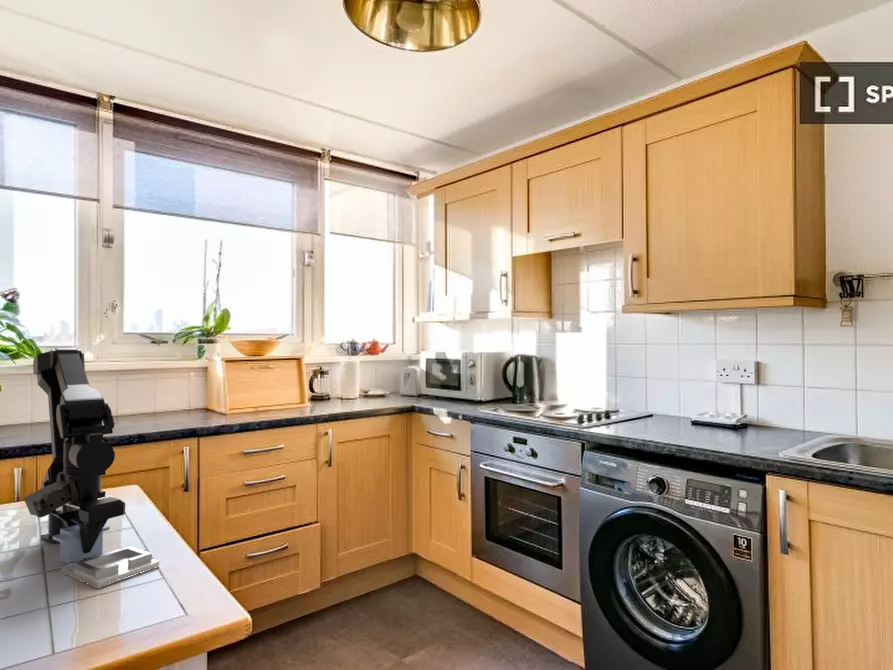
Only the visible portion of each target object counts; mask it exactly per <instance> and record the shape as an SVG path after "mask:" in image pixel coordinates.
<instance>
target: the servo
mask: <svg viewBox="0 0 893 670" xmlns="http://www.w3.org/2000/svg"><path fill="white" fill-rule="evenodd" d="M109 530H110V526H109V525H107V524H105V525H104V527H103V529H102V530H101V532H100V534H99V536H98V538H97V540H96V542H95V544H94V546H93V548H92V550H91V551H90V552H88V553H83V549H82V544H81V536H80V529H79V526H78V525H74V526H70V527H66V528H62V529H60V534H59V535H55V536H53V540H56V541H58V542H60V543H59V560H61V561H62V562H64V561H65V562H64V563H67V562H68V563H67V564H71V563H70V562H73V563H75V562H74V561H76V562H78V561H77V560H79V561H82V560H85V559H84V558H86V559H88V557H89V558H91V557H95V556H98V555H101V554H104V551H103V546H104V545H103V544H104V543H103V542H104V541H103V540H104V539H103V537H104V535H103V534H104V532H106V531H109ZM81 559H82V560H81Z"/></svg>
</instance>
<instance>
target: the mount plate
mask: <svg viewBox="0 0 893 670" xmlns="http://www.w3.org/2000/svg"><path fill="white" fill-rule="evenodd" d="M158 566H159V567H160V561H159V560H156V559H153V553H152V552H149V551H146V550H143V549H141V548H138V547H134V546H132V545H129V546H128V545H127V546H125V547H121V548H118V549H114V550H112V551H111V550H110V551H107V552H105V553H104V552H103V553H102V554H99V555H95V556H92V557H89V558H86V559H82V560H79V561H76V562H73V563H68V564H65V565H62V566H61V567H60V569H61V571H60V573H61V574H63V573H64V574H63V575H65V574H66V575H65V576H68V575H69V576H68V577H70V576H71V577H70V578H72V577H74V578H76V579H75V580H77V579H79V580H81V581H84V582H86V583H88V584H90V585H92V586H94V587H93V588H95V587H96V588H95V589H97V588H99V589H101V588H100V587H102V586H104V585H107V584H109V583H112V582H115V581H117V580H119V579H123V578H125V577H128V576H131V575H134V574H137V573H140V572H143V571H146V570H149V569H152V568H155V567H158ZM159 567H158V568H159ZM155 569H156V568H155ZM152 570H153V569H152ZM149 571H150V570H149ZM74 578H73V579H74ZM79 580H78V581H79ZM81 581H80V582H81ZM86 583H85V584H86ZM88 584H87V585H88ZM90 585H89V586H90ZM92 586H91V587H92ZM107 586H108V585H107ZM102 588H103V587H102Z"/></svg>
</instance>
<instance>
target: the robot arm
mask: <svg viewBox="0 0 893 670" xmlns="http://www.w3.org/2000/svg"><path fill="white" fill-rule="evenodd" d="M85 368H86V367H85V353H84V352H82V349H79V348H77V347H63V348H62V347H56V348H53V349H50V350H49V351H45V352H40V353H38V354H36V356H34V357H33V363H32V370H33V375H35V376H36V378H37V379H36V380H37V385H38V387H40V388H41V389H42V391H44V393H45V394H46V395H47V400H48V415H49V425H50V426H49V427H50V438H51V439H50V441H51V442H50V443H51V455H52V462H51V464H50V466H48V469H47V471H46V472H45V473H44V477H43V478H44V480H42V481H41V484H40V489H38V490H36V491H34V492H33V493H29V494H27V496H25V497H24V498H23V500H24V503H25V504H26V505H25V506H26V508H27V509H28V512H29V514H30V515H31V516H36V517H37V518H45V517H46V516H47V517H48V525H47V527H48V529H47V533H45V534H41V535H40V539H42V540H45V541H47V542H48V543H49V542H50V543H52V544H58V543H59V544H60V542H58V541H56V540H53V536H55V535H59V534H60V529H62V528H66V527H70V526H74V525H78V526H79V529H80V536H81V544H82V549H83V553H88V552H90V551H91V550H92V548H93V546H94V544H95V542H96V540H97V538H98V536H99V534H100V532H101V530H102V529H103V527H104V525H107V524H106V523H107V522H108V520H109V519H113V518H116V517H121V516H124V515H125V514H126V503H125V502H124V501H123V500H122V499H120V498H115V497H111V496H108V497H106V490H102V489H101V482H102V481H101V479H102V478H101V477H102V476H105V475H106V472H107V470H108V469H109V468H110V467H111V466H112V465H113V463H114V461H115V457H116V453H115V450H114V447H113V446H112V445H111V444H110V443H108V442H106V441H105V440H104V435H110V434H111V435H113V432H114V430H113V429H114V427H115V421H114V417H113V412H112V409H111V407H110V406H109V403H108V401H105V398H104V396H103V395H102V393H101V391H99V390H97V389H95V388H93V387H91V385H90V382H89V380H88V377H87V374H86V371H85V370H86V369H85Z"/></svg>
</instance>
